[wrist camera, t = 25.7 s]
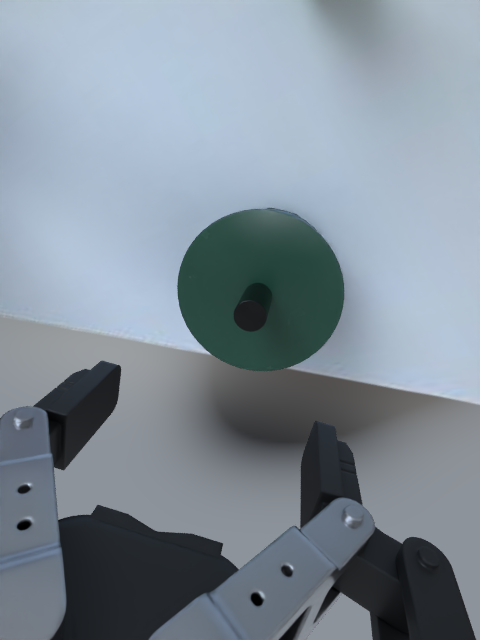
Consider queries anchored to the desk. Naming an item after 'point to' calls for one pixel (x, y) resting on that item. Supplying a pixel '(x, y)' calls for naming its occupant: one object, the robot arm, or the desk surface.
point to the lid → (260, 290)
